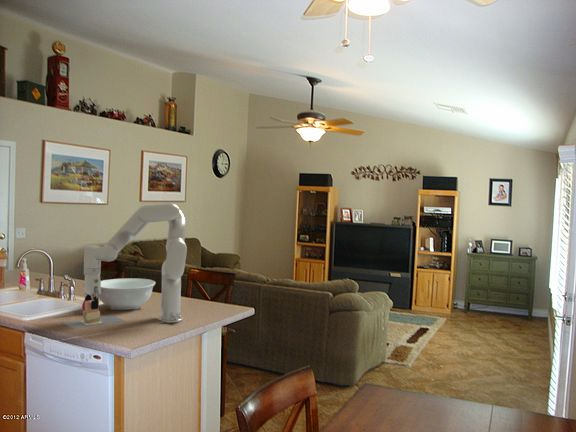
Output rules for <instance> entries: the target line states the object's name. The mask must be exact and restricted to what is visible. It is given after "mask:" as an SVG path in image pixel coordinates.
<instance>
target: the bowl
mask: <svg viewBox="0 0 576 432" xmlns="http://www.w3.org/2000/svg"><path fill="white" fill-rule="evenodd" d="M155 285H156V281H155V280H153V279H147V278H138V277H137V278H133V277H132V278H125V277H123V278H113V279H104V280H101V294H100V295H99V300H100V301H101V302H102V303H103V304H104V305H106V306H108V307H109V308H110V310H118V311H120V310H121V311H125V310H127V311H128V310H139V309H140V308H141V305H142V304H143V305H144V303H146V302H148V300H149V299H150V298H151V296H152V293H153V288H154V286H155Z"/></svg>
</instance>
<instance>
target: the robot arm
mask: <svg viewBox="0 0 576 432" xmlns="http://www.w3.org/2000/svg"><path fill="white" fill-rule="evenodd" d="M159 222H168V232H167V238H166V239H167V240H166V244H165V249H166V250H165V251H166V256H165V257H166V258H165V260H164V262H163V263H162V265H161V298H160V299H161V303H160V305H161V306H160V308H161V309H160V315H159V317H157V320H159V321H161V322H164V323H166V324H167V323H169V324H170V323H171V324H172V323H178V322H182V321H184V317H183V315H181V301H182V300H181V298H182V296H181V295H182V294H181V292H182V291H181V290H182V276H183V274H184V273H185V266H186V260H187V254H188V253H187V251H188V247H187V244H186V242H185V239H186V230H187V229H186V228H187V224H186V223H187V222H186V218H185V215H184V213H183V212H182V210H181V209H180V208H179V206H178V205H177V204H176V203H172V202H166V203H162V204H143V205H141V206H140V207H139V208H138V209H137V210H136V211H135V212H134V213H133V214H132V215H130V217H129V218H128V219H127V220H126V221H125V223H124V224H123V225H122V226H121V227H120V228H119V229H118V230H117V232H115V234H114V235H113V236H112V237H111V238H110V239H109V240H108V241H107V242H106V243H105V245H104V246H99V245H86V246H85V247H84V251H83V252H84V253H83V276H84V282H83V290H84V291H83V292H84V300H85V301H90V300H92V301H91V309H98V301H99V300H100V298H99V295H100V294H101V281H102V280H101V273H102V272H101V269H102V268H101V267H102V261H103V262H114V261H115V260H116V259H117V258H118V254H119V253H120V252H121V251H122V250H123V248H125V246H126V245H128V244H129V243H130V242H131V241H132V240H134V239H135V238H137V237H138V235H140V234H141V232H142V231H143V230H144V229H146V227H147V225H149V224H150V223H159ZM99 302H100V301H99Z"/></svg>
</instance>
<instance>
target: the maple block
mask: <svg viewBox="0 0 576 432" xmlns="http://www.w3.org/2000/svg"><path fill="white" fill-rule="evenodd" d="M100 317H101V311H99V312H95V313H87V312H85V311H84V310H83V311H82V320H83V322H85V323H86V324H91V323H98V322H100Z"/></svg>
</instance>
